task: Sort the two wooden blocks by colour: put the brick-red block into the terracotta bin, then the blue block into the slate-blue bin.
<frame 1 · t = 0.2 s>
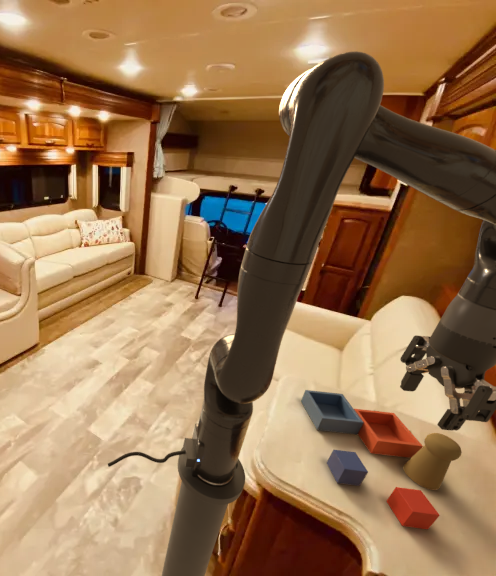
hand: (424, 407, 54), 23 cm above the table, tool pointing down, fingers open, 8 cm apart
cork: (420, 476, 68), on the table
red bin: (379, 438, 76), on the table
red block: (406, 514, 61), on the table
blue block: (342, 474, 68), on the table
blue bin: (327, 417, 82), on the table
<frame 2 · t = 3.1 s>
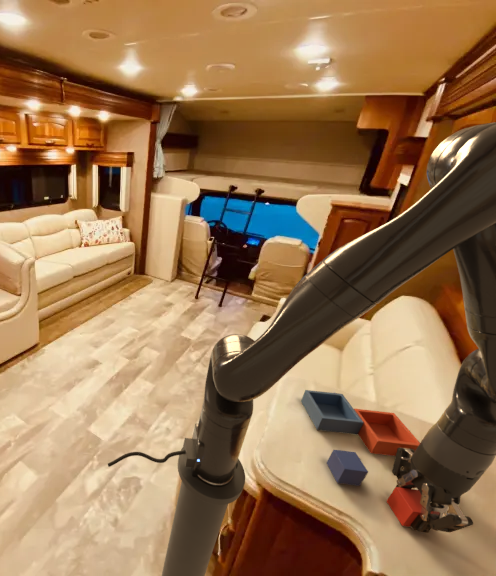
hand: (407, 513, 60), 0 cm above the table, tool pointing down, fingers closed on red block, 4 cm apart
red block: (406, 514, 61), on the table, touching gripper
everything else where it was.
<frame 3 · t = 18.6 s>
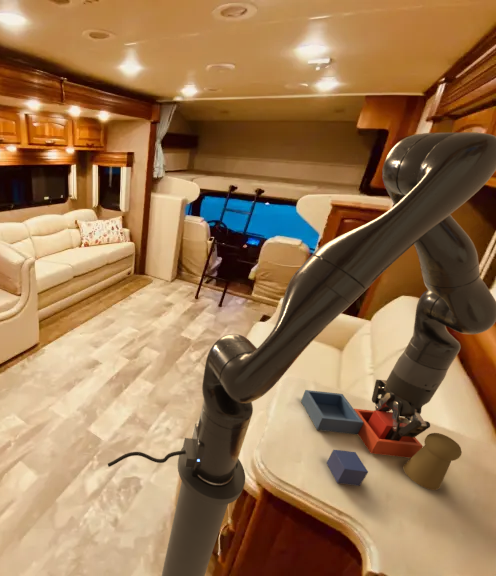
hand: (383, 431, 75), 2 cm above the table, tool pointing down, fingers closed on red block, 4 cm apart
red block: (382, 432, 75), point 2 cm above the table, touching gripper
everything else where it was.
when the fingers open (4 cm above the table, at t = 21.2 s): red block drops 3 cm, resting on red bin.
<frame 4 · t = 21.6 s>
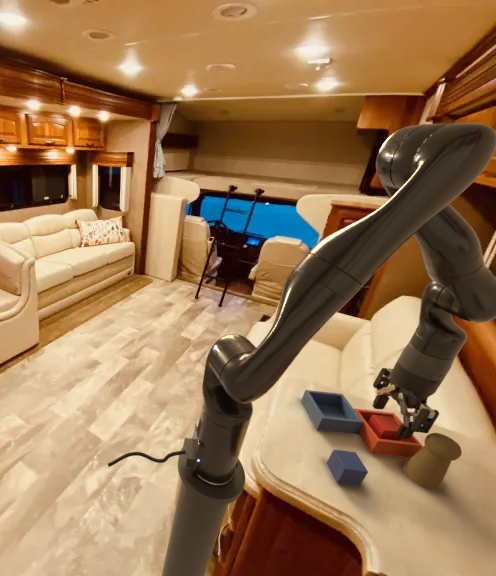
hand: (388, 421, 74), 6 cm above the table, tool pointing down, fingers open, 8 cm apart
red block: (380, 436, 76), point 1 cm above the table, touching red bin
everything else where it was.
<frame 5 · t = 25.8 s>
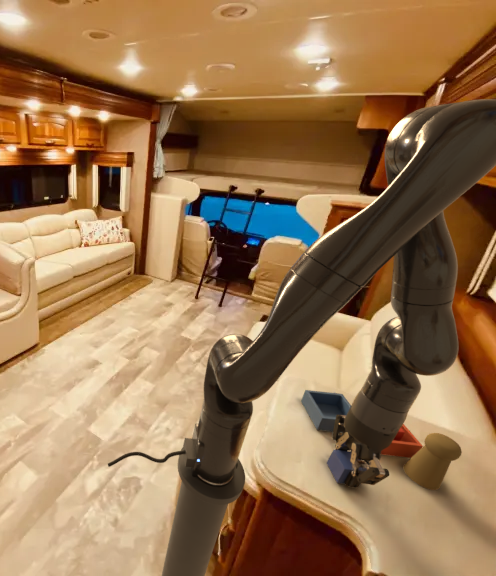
hand: (343, 473, 67), 0 cm above the table, tool pointing down, fingers closed on blue block, 4 cm apart
blue block: (342, 474, 68), on the table, touching gripper
everything else where it was.
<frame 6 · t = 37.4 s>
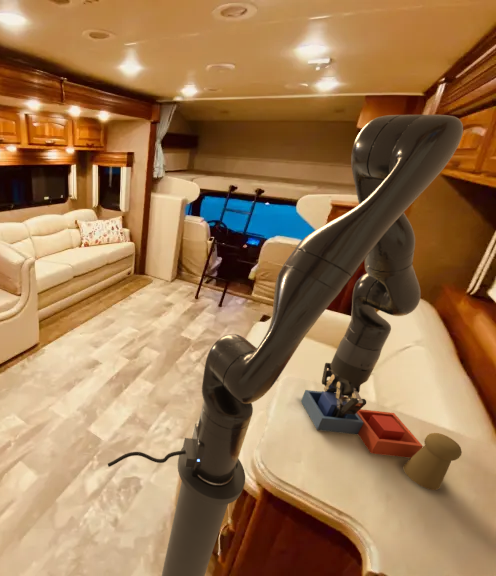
hand: (330, 410, 81), 2 cm above the table, tool pointing down, fingers closed on blue block, 4 cm apart
blue block: (330, 411, 81), point 2 cm above the table, touching gripper
everything else where it was.
when the fingers open (5 cm above the table, at t = 44.1 s): blue block drops 4 cm, resting on blue bin.
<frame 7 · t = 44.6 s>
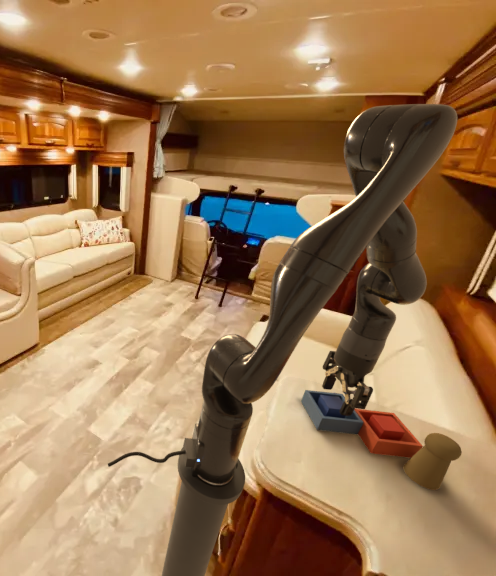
hand: (335, 400, 79), 6 cm above the table, tool pointing down, fingers open, 8 cm apart
blue block: (328, 415, 81), point 1 cm above the table, touching blue bin
everything else where it was.
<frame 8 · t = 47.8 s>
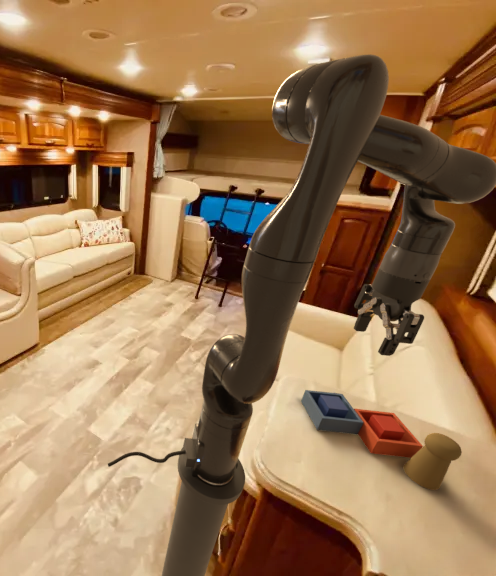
hand: (371, 341, 67), 26 cm above the table, tool pointing down, fingers open, 8 cm apart
nothing on the table moved.
at the end: red block inside the target area in the red bin (0.0 cm from its centre), point 0.6 cm above the red bin's base; blue block inside the target area in the blue bin (0.0 cm from its centre), point 0.6 cm above the blue bin's base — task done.
